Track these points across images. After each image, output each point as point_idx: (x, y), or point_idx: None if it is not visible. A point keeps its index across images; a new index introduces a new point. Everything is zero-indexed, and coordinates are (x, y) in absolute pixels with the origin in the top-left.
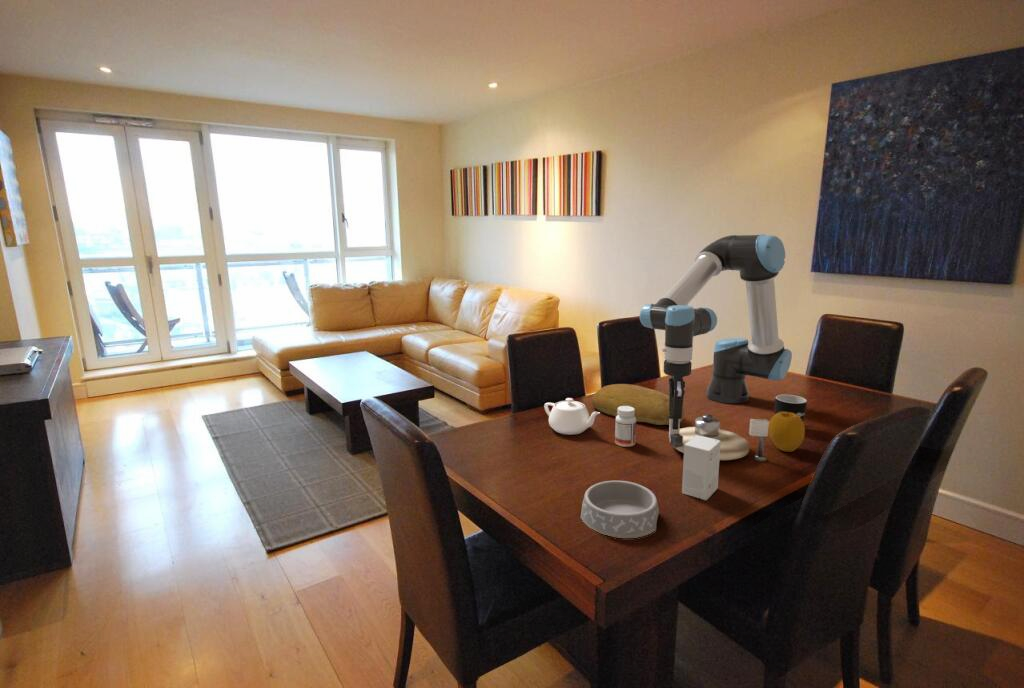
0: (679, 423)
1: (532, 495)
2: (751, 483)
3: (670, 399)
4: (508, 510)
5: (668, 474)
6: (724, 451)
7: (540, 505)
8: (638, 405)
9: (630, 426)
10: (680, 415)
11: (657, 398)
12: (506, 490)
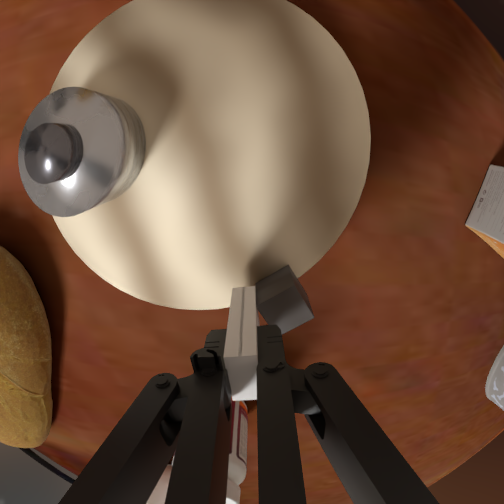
0: (255, 335)
1: (453, 453)
2: (445, 55)
3: (161, 473)
4: (475, 452)
5: (427, 293)
6: (309, 80)
7: (477, 437)
8: (23, 394)
9: (240, 452)
10: (344, 387)
11: None
12: (433, 474)
